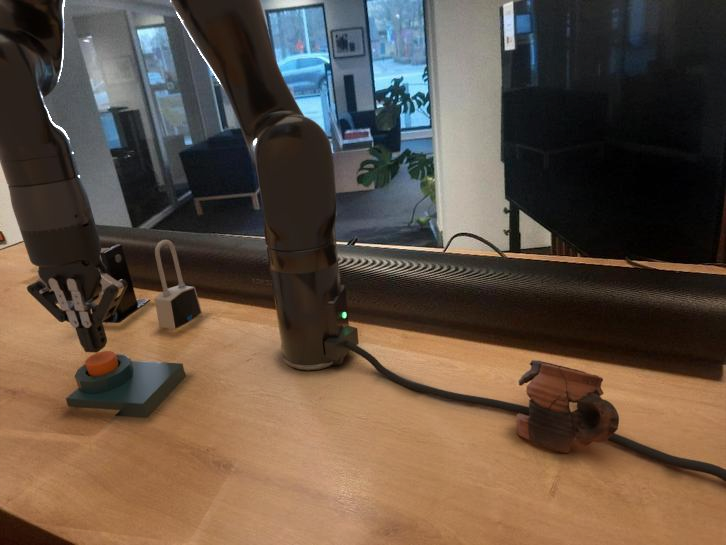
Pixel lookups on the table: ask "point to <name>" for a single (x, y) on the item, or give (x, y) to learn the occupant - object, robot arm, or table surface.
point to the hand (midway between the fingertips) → (96, 349)
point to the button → (101, 363)
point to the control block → (127, 387)
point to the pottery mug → (565, 408)
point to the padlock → (175, 296)
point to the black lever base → (118, 271)
